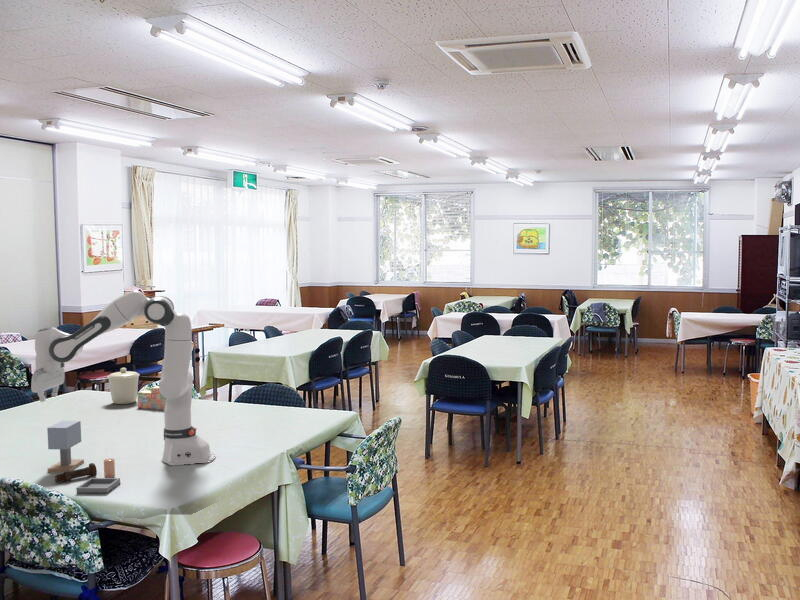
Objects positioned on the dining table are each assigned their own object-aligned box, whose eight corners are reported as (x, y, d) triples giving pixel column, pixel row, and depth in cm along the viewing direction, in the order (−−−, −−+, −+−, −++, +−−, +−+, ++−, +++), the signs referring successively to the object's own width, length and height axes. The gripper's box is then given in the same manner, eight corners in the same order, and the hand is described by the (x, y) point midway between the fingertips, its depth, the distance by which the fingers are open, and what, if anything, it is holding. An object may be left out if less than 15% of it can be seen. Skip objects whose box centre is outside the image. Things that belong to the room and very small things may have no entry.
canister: (134, 398, 440) (133, 364, 439) (145, 402, 427) (144, 367, 425) (104, 402, 429) (102, 367, 427) (114, 407, 415) (112, 371, 413)
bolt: (55, 487, 283) (94, 478, 292) (58, 484, 279) (97, 474, 289) (52, 473, 284) (91, 464, 294) (55, 470, 281) (94, 461, 291)
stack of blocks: (137, 408, 413) (136, 387, 413) (144, 405, 419) (143, 385, 419) (170, 410, 408) (169, 388, 407) (176, 407, 414) (176, 386, 413)
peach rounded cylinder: (116, 475, 291) (116, 458, 291) (112, 478, 287) (111, 461, 287) (107, 475, 291) (106, 458, 291) (102, 478, 287) (101, 461, 287)
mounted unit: (83, 462, 308) (82, 420, 307) (69, 472, 296) (67, 428, 294) (62, 462, 309) (60, 420, 307) (46, 472, 296) (44, 428, 294)
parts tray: (120, 483, 281) (120, 478, 281) (107, 493, 269) (106, 488, 269) (91, 483, 281) (90, 478, 281) (76, 493, 270) (76, 488, 270)
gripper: (41, 370, 289) (42, 404, 290) (66, 362, 309) (68, 394, 310) (26, 370, 289) (27, 404, 290) (52, 362, 309) (53, 393, 310)
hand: (48, 399), depth 300 cm, fingers open, 8 cm apart
